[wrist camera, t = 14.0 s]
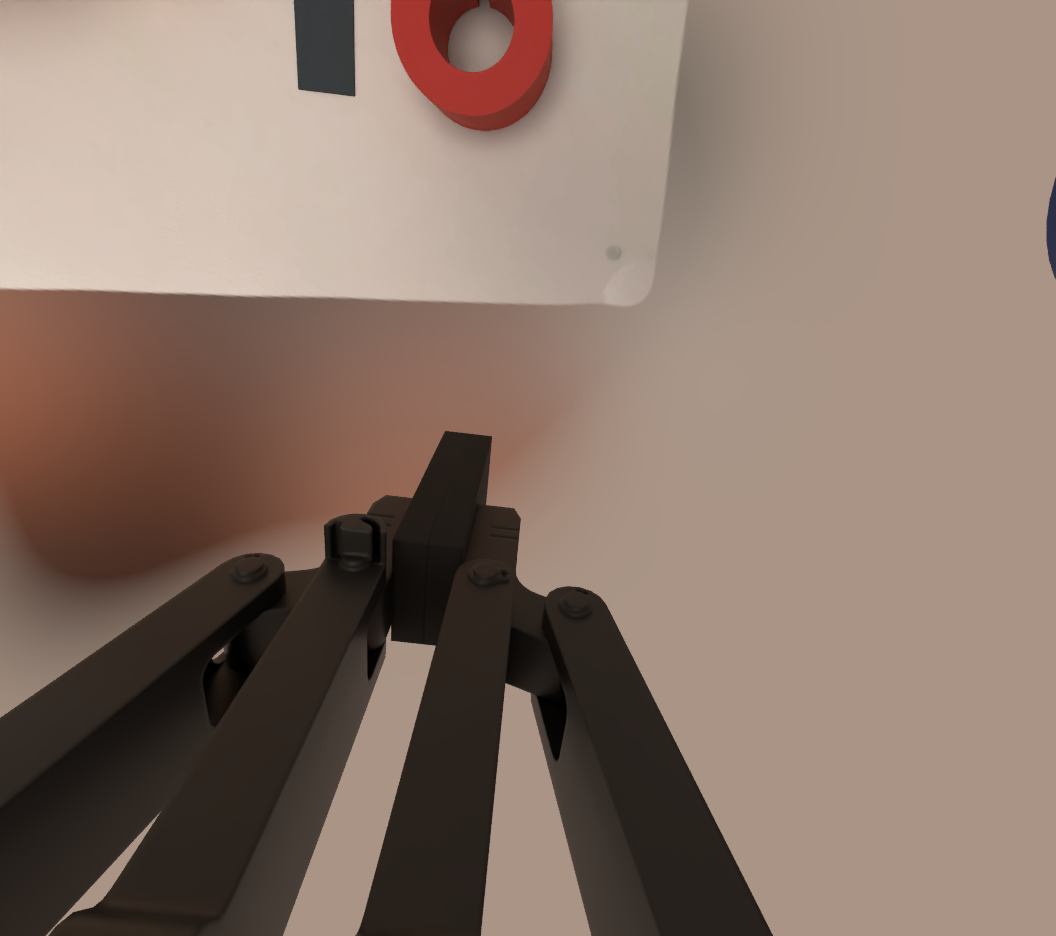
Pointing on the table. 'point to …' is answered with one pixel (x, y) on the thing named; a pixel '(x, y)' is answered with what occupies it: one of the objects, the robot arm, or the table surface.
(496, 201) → the table surface
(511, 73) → the lever
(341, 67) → the strip
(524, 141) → the table surface
